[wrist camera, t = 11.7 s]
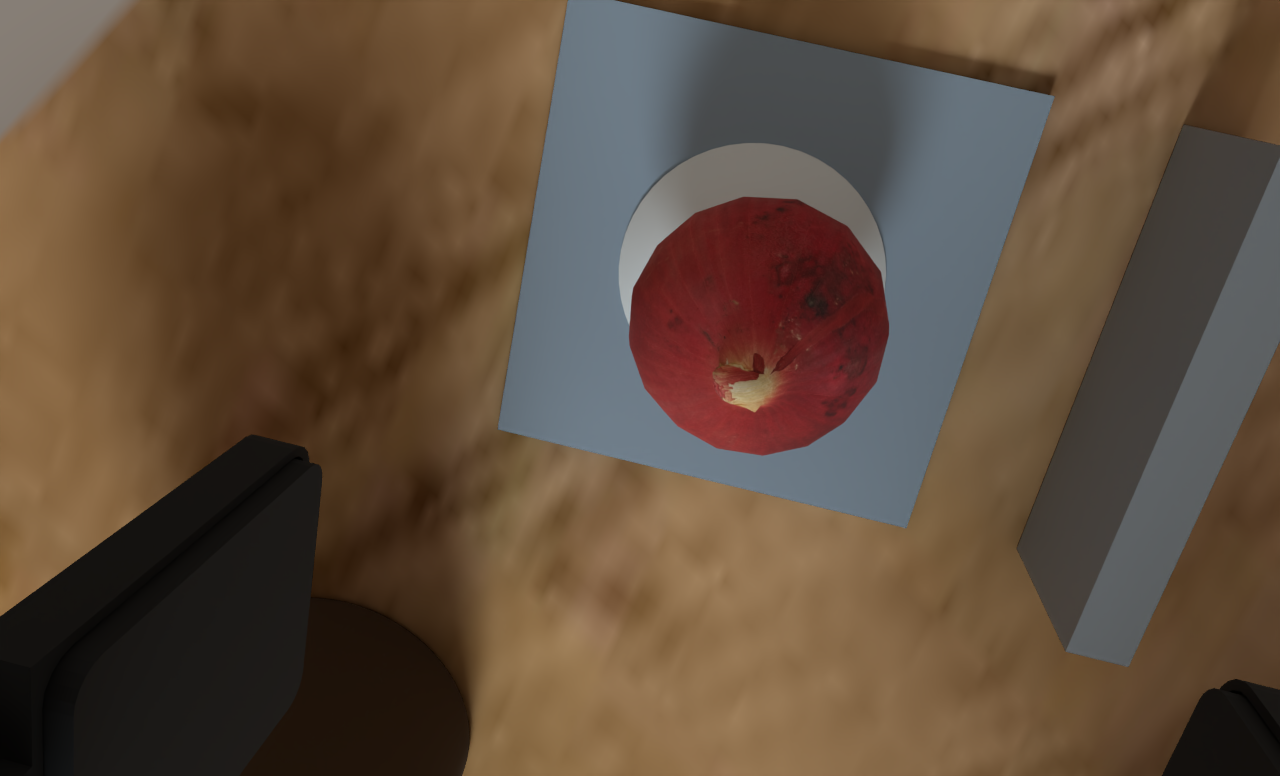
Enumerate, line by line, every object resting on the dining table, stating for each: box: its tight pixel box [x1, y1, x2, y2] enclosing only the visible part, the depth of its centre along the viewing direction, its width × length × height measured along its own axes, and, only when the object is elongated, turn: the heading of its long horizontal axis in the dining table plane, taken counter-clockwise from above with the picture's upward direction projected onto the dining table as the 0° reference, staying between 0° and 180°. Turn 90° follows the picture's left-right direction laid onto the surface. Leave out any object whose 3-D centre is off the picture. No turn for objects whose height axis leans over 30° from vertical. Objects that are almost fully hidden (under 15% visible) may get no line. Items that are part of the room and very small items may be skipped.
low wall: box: [1017, 125, 1280, 667], centre depth 23 cm, size 12×2×5 cm, turn 169°
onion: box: [629, 197, 889, 456], centre depth 22 cm, size 6×6×8 cm
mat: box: [498, 0, 1055, 528], centre depth 26 cm, size 12×12×1 cm
